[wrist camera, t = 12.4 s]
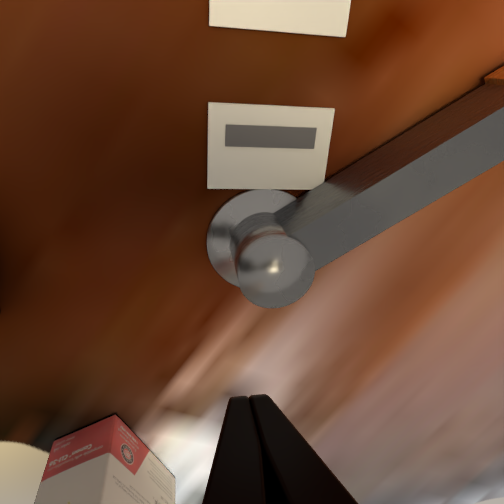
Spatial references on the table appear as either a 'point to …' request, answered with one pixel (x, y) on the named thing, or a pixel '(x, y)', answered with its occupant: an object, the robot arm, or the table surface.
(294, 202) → the swing arm
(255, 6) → the label tile
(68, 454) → the ink cartridge box
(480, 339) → the table surface
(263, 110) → the label tile
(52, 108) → the table surface
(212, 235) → the pivot base
